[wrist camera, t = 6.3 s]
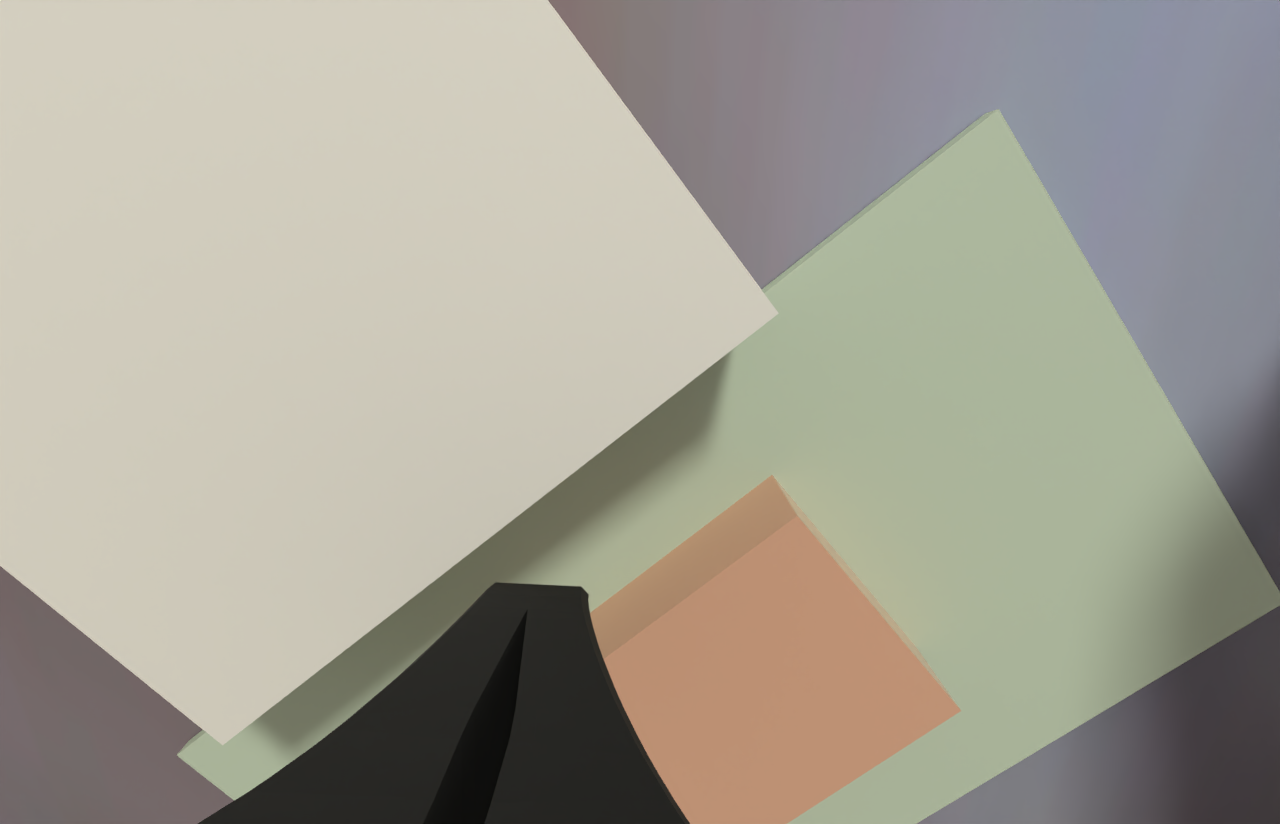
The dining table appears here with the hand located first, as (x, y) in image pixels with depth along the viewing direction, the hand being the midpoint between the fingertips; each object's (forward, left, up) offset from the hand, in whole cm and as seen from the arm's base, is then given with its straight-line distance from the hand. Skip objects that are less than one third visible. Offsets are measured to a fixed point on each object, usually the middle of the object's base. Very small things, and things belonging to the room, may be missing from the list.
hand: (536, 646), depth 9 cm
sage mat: (-5, 0, -4) cm, 6 cm away
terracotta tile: (-4, 0, -2) cm, 4 cm away
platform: (+8, 0, -4) cm, 8 cm away
